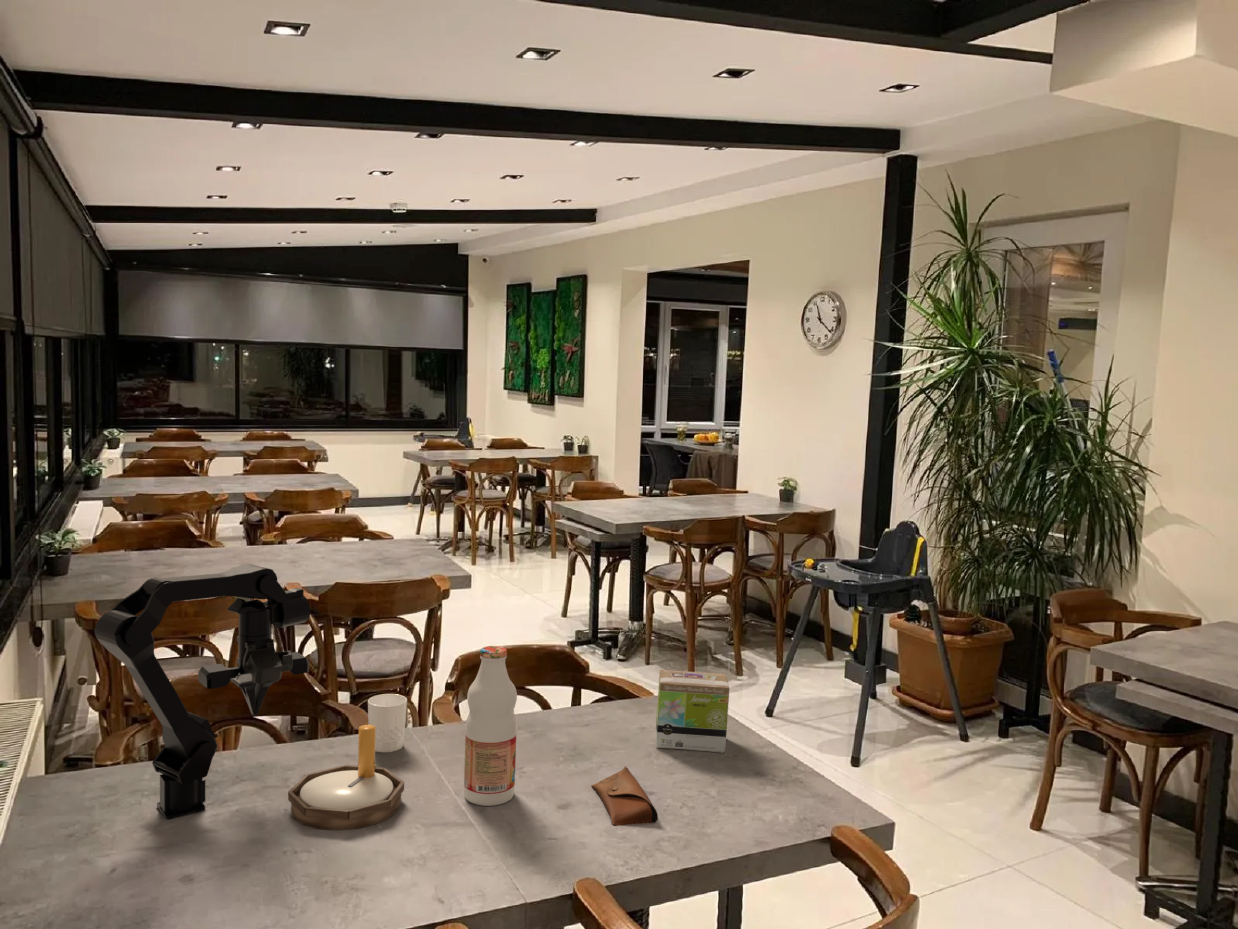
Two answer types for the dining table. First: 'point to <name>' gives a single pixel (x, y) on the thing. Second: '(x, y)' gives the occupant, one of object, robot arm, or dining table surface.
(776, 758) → the dining table surface
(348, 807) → the dial
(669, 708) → the tea box
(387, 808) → the dial housing
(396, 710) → the white cup
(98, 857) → the dining table surface
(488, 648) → the fruit juice
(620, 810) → the sunglasses case
